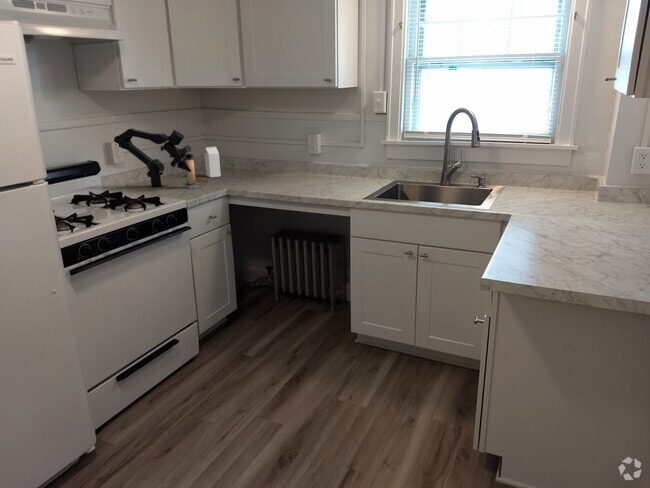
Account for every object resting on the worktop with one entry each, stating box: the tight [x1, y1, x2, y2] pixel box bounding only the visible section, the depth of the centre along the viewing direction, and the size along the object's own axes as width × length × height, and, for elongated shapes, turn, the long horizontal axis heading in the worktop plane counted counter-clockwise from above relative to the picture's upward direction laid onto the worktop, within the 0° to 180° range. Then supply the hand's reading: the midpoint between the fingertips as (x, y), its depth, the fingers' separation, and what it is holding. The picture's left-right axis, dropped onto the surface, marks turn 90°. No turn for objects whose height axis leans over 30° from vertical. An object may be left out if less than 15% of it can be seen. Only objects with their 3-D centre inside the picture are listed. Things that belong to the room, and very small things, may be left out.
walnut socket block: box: [186, 177, 209, 186], centre depth 300 cm, size 9×9×2 cm
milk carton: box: [203, 146, 222, 178], centre depth 321 cm, size 7×7×19 cm
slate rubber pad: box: [183, 184, 202, 190], centre depth 289 cm, size 7×7×1 cm
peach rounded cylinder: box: [186, 159, 196, 185], centre depth 286 cm, size 4×4×13 cm
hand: (192, 170), depth 286 cm, fingers closed on peach rounded cylinder, 4 cm apart
